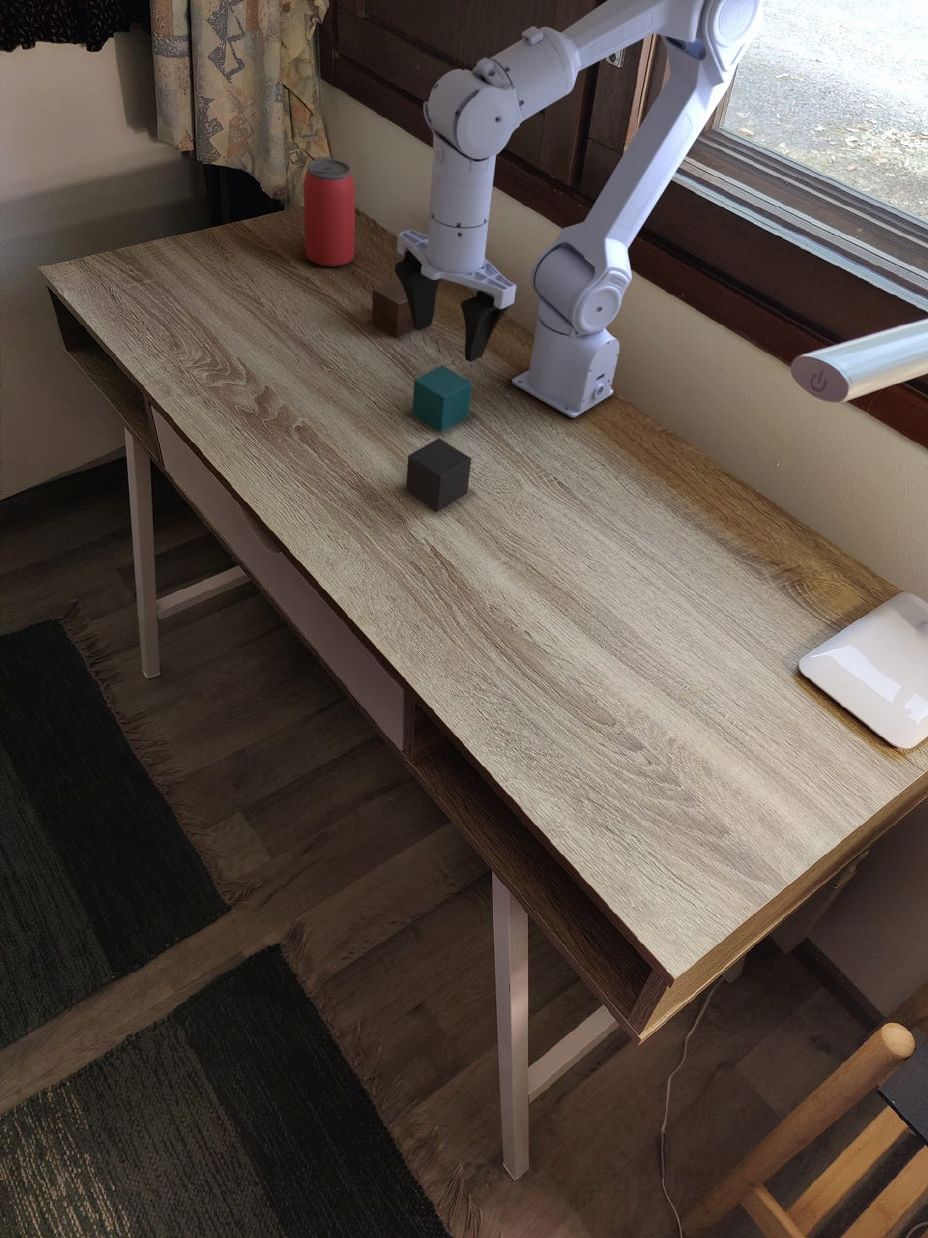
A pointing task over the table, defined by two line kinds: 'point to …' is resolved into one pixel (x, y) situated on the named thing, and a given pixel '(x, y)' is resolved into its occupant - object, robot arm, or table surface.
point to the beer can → (329, 213)
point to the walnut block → (391, 308)
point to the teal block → (441, 398)
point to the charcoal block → (438, 474)
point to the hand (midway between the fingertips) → (448, 341)
